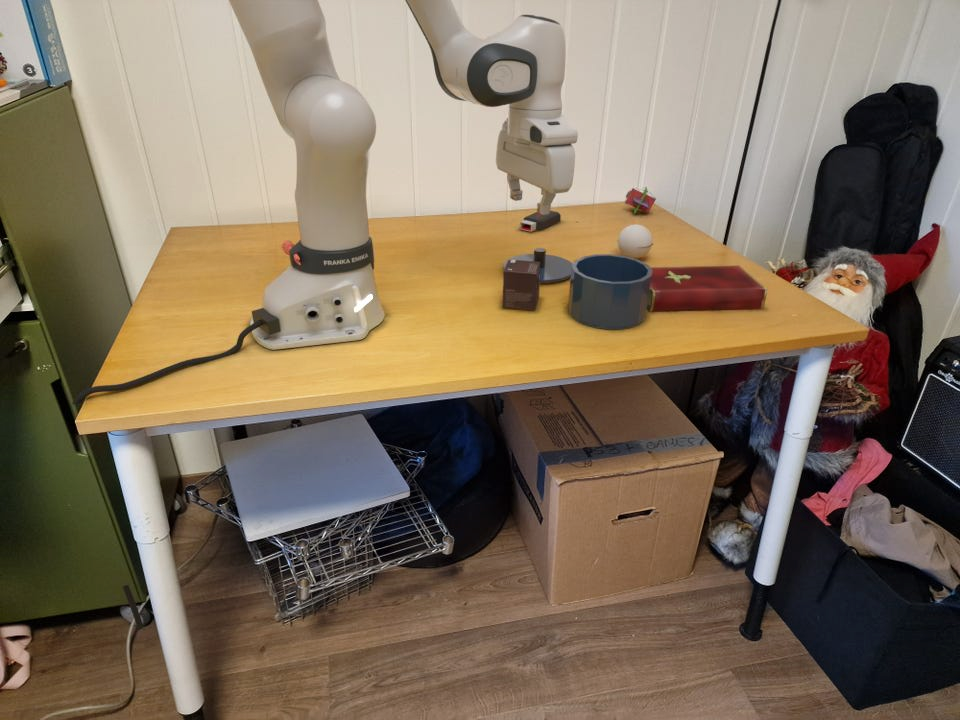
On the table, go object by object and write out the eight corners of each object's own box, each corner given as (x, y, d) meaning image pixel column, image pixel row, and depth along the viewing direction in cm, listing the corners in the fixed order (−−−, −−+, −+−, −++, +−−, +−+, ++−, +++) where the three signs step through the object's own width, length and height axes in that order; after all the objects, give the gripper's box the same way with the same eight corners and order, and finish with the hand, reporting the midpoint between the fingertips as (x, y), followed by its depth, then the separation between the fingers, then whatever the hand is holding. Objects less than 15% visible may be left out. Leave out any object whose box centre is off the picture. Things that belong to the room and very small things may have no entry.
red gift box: (659, 202, 170) (643, 176, 168) (662, 209, 164) (646, 183, 162) (634, 217, 173) (619, 192, 170) (636, 225, 167) (620, 199, 164)
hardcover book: (763, 309, 117) (768, 288, 115) (650, 312, 116) (653, 290, 114) (735, 284, 128) (739, 264, 126) (631, 286, 126) (634, 266, 124)
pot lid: (525, 290, 124) (527, 267, 122) (490, 265, 135) (491, 243, 133) (588, 278, 130) (591, 255, 127) (550, 254, 141) (551, 234, 139)
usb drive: (560, 221, 162) (561, 210, 160) (534, 233, 153) (535, 222, 152) (542, 217, 165) (543, 206, 163) (516, 229, 156) (516, 218, 155)
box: (534, 312, 116) (537, 273, 112) (501, 308, 117) (502, 270, 113) (539, 298, 121) (541, 261, 117) (507, 295, 122) (508, 258, 118)
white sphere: (628, 266, 136) (632, 232, 132) (608, 254, 142) (612, 222, 138) (667, 260, 139) (672, 226, 136) (646, 248, 145) (651, 216, 141)
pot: (597, 336, 108) (603, 288, 104) (554, 305, 118) (557, 261, 114) (661, 320, 113) (669, 275, 109) (614, 292, 124) (619, 249, 120)
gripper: (488, 116, 115) (486, 193, 122) (550, 136, 99) (544, 224, 106) (519, 114, 118) (515, 190, 125) (584, 134, 102) (576, 219, 109)
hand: (529, 206), depth 115 cm, fingers open, 8 cm apart
